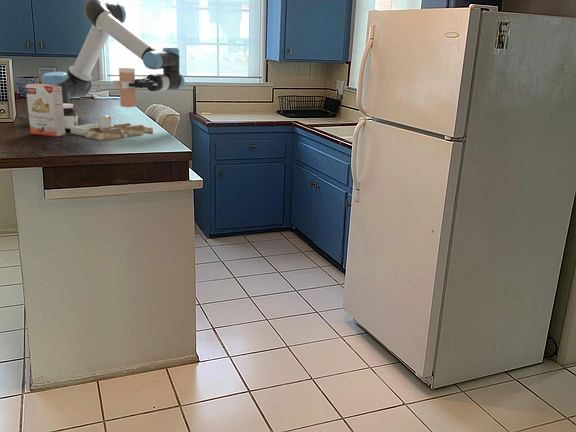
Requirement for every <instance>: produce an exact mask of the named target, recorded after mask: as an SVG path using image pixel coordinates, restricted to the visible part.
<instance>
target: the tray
mask: <svg viewBox="0 0 576 432" xmlns="http://www.w3.org/2000/svg"><path fill="white" fill-rule="evenodd" d="M98 126H99V123H88V124H82V125H78V126H72V127H70V132H69V133H70V134H71V135H77V136H83V137H86V132H85V131H90V127H98ZM111 128H114V125H111Z"/></svg>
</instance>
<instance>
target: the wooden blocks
mask: <svg viewBox="0 0 576 432" xmlns="http://www.w3.org/2000/svg"><path fill="white" fill-rule="evenodd" d="M85 132H86V136H85V138H89V139H95V140H101V141H108V140H113V139H120V138H126V136H127V137H132V136H140V135H144V133H146V134H153V133H154V127H153V126H145V125H144V124H132V125H131V122H123V123H122V122H121V123H115V124H113V128H111V129H103V133H99V126H98V127H90V131H85Z"/></svg>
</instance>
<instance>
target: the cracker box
mask: <svg viewBox="0 0 576 432" xmlns="http://www.w3.org/2000/svg"><path fill="white" fill-rule="evenodd" d="M25 90H26V91H25V92H26V101H27V112H28V120H29V121H28V122H29V130H30V134H31V135H38V136H39V135H40V136H48V137H55V138H56V137H57V138H58V137H62V136H66V134H67V132H65V121H64V109H63V97H62V86H55V85H45V84H42V83H29V84H25Z"/></svg>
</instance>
